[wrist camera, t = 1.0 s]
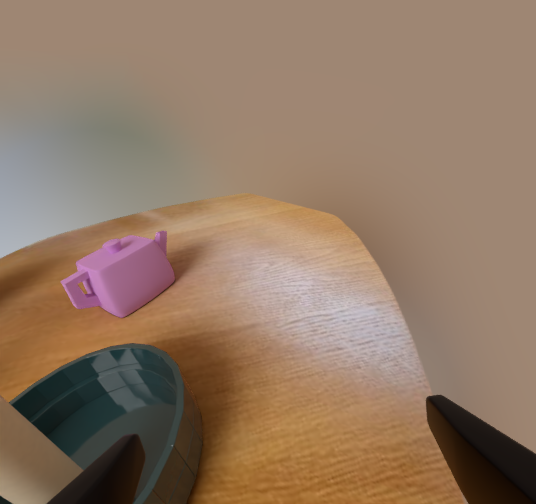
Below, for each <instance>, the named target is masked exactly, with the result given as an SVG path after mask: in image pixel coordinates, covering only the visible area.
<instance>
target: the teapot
mask: <svg viewBox="0 0 536 504" xmlns="http://www.w3.org/2000/svg"><path fill="white" fill-rule="evenodd" d="M166 243H167V231H160V232H157V233H156V237H155V240H152V239H148V238H144V237H139V236H132V235H129V236H127V237H124V238H122V239H113V240H110V241H107V242H106V243H104V244H103V245H102V246H103V248H101V249H99V250H97V251H95V252H93V253H91V254H89V255H87V256H85V257H84V258H82V259H80V260H78V261H77V262H76V266H77V269H78V272H76V273H74V274H73V275H71V276H69V277H67V278H66V279H64V280H62V281H61V283H62V285H63V287H64V289H65V290H66V292H67V294H68V296H69V298H70V300H71V301H72V303H73V305H74V306H75V307H76V308H78V309H83V308H89V307H95V306H100V307H101V308H103V309H105V310H106V311H108V312H110V313H111V314H113V315H115V316H118V317H120V318H123V317H125V316H127V315H129V314H131V313H132V312H134V311H136V310H137V309H139V308H140V307H142V306H143V305H145V304H146V303H148V302H149V301H151V300H152V299H153V298H155V297H156V296H157V295H159V294H160V293H161V292H163V291H164V290H165V289H166V288H168V287H169V286H170V285H171V284H172V283H173V282H174V281H175V276H174V271H173V269H172V267H171V265H170V263H169V261H168V259H167V258H166ZM80 282H83V284H84V287H85V288H86V290H87V292H88V294H84V293H83V292H82V290H81V289H80V287H79V286H78V285H77V284H78V283H80Z"/></svg>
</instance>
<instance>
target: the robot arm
mask: <svg viewBox="0 0 536 504" xmlns="http://www.w3.org/2000/svg"><path fill="white" fill-rule="evenodd" d="M426 409H427V421H428V424H429V427H430V429H431V431H432V433H433V435H434V437H435V439H436V441H437V443H438V446H439V448H440V450H441V452H442V454H443V456H444V458H445V460H446V462H447V464H448V466H449V468H450V470H451V472H452V474H453V476H454V478H455V480H456V482H457V484H458V486H459V488H460V490H461V491H462V493H463V495H464V497H465V498H466V500H467V502H468V503H469V504H536V454H535V453H534V452H532V451H530V450H529V449H527V448H526V447H524V446H523V445H521V444H519V443H518V442H516V441H514V440H513V439H511V438H510V437H508V436H506V435H505V434H503V433H501V432H500V431H499V430H496V429H495V428H494V427H492V426H490V425H489V424H487V423H486V422H484V421H483V420H481V419H479V418H478V417H476V416H475V415H473V414H471V413H470V412H468V411H466V410H465V409H463V408H462V407H460V406H458V405H457V404H455V403H454V402H452V401H451V400H449V399H447V398H446V397H444V396H442V395H434V396H428V397H427V398H426ZM144 463H145V451H144V448H143V445H142V443H141V440H140V437H139V435H138V434H127V435H124V436H122V437H121V438H120V439H119V440H118V441H117V442H115V443H114V444H113V445H112V446H111V447H110V448H109V449H108V450H106V451H105V452H104V453H103V454H102V455H101V456H100V457H99V458H97V459H96V460H95V461H94V462H93V463H92V464H91V465H89V466H88V467H87V468H86V469H85V470H84V471H83V472H82V473H80V474H79V475H78V476H77V477H76V478H75V479H74V480H72V481H71V482H70V483H69V484H68V485H67V486H66V487H65V488H63V489H62V490H61V491H60V492H59V493H58V494H57V495H55V496H54V497H53V498H52V499H51V500H50V501H49V502H48V503H46V504H133V501H134V497H135V494H136V490H137V487H138V484H139V480H140V477H141V474H142V470H143V467H144Z"/></svg>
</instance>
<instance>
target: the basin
mask: <svg viewBox="0 0 536 504" xmlns="http://www.w3.org/2000/svg"><path fill="white" fill-rule="evenodd" d="M9 404H10V405H11V406H13V407H14V408H15V409H16V410H17V411H18V412H19V413H20V414H21V415H23V416H24V417H25V418H26V419H27V420H28V421H29V422H30V423H31V424H33V425H34V426H35V427H36V428H37V429H38V430H39V431H40V432H41V433H43V434H44V435H45V436H46V437H47V438H48V439H49V440H50V441H51V442H53V443H54V444H55V445H56V446H57V447H58V448H59V449H60V450H61V451H63V452H64V453H65V454H66V455H67V456H68V457H69V458H70V459H71V460H73V461H74V462H75V463H76V464H77V465H78V466H79V467H80V468H81V469H83V470H85V469H86V468H87V467H88V466H89V465H91V464H92V463H93V462H94V461H95V460H96V459H97V458H99V457H100V456H101V455H102V454H103V453H104V452H105V451H106V450H108V449H109V448H110V447H111V446H112V445H113V444H114V443H115V442H117V441H118V440H119V439H120V438H121V437H122V436H124V435H127V434H138V435H139V437H140V440H141V443H142V445H143V448H144V451H145V463H144V467H143V470H142V474H141V477H140V480H139V484H138V487H137V490H136V494H135V497H134V501H133V504H186V502H187V499H188V497H189V494H190V492H191V489H192V487H193V484H194V482H195V478H196V476H197V470H198V465H199V460H200V454H201V449H202V442H203V441H202V418H201V413H200V411H199V408H198V405H197V402H196V399H195V396H194V395H193V393H192V391H191V389H190V387H189V385H188V383H187V381H186V379H185V378H184V376H183V374H182V372H181V370H180V368H179V366H178V364H177V363H176V362H175V361H174V360H173V359H172V358H171V357H170V356H169V355H168V353H167V352H165V351H163V350H160V349H158V348H156V347H154V346H151V345H145V344H135V343H130V344H123V345H116V346H111V347H107V348H104V349H101V350H98V351H95V352H92V353H89V354H86V355H84V356H82V357H80V358H78V359H76V360H74V361H71V362H69V363H67V364H65V365H63V366H61V367H59V368H58V369H56V370H55V371H53V372H51V373H50V374H48V375H47V376H45V377H43V378H42V379H40V380H38V381H37V382H35V383H34V384H32V385H31V386H30V387H28V388H27V389H26V390H24V391H23V392H22V393H21V394H19V395H18V396H17V397H15V398H14V399H13V400H11V401H10V402H9ZM0 504H13V503H11V502H10V501H8V500H6V499H5V498H3V497H2V496H0Z"/></svg>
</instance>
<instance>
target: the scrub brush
mask: <svg viewBox="0 0 536 504" xmlns="http://www.w3.org/2000/svg"><path fill="white" fill-rule="evenodd" d="M83 471H84V470H83V469H81V468H80V467H79V466H78V465H77V464H76V463H75V462H74V461H73V460H71V459H70V458H69V457H68V456H67V455H66V454H65V453H64V452H63V451H61V450H60V449H59V448H58V447H57V446H56V445H55V444H54V443H53V442H51V441H50V440H49V439H48V438H47V437H46V436H45V435H44V434H43V433H41V432H40V431H39V430H38V429H37V428H36V427H35V426H34V425H33V424H31V423H30V422H29V421H28V420H27V419H26V418H25V417H24V416H23V415H21V414H20V413H19V412H18V411H17V410H16V409H15V408H14V407H13V406H11V405H10V404H9V403H8V402H7V401H6V400H5V399H4V398H3V397H1V396H0V496H2V497H3V498H5V499H6V500H8V501H10V502H11V503H13V504H46V503H48V502H49V501H50V500H51V499H52V498H53V497H54V496H55V495H57V494H58V493H59V492H60V491H61V490H62V489H63V488H65V487H66V486H67V485H68V484H69V483H70V482H71V481H72V480H74V479H75V478H76V477H77V476H78V475H79V474H80V473H82V472H83Z"/></svg>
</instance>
